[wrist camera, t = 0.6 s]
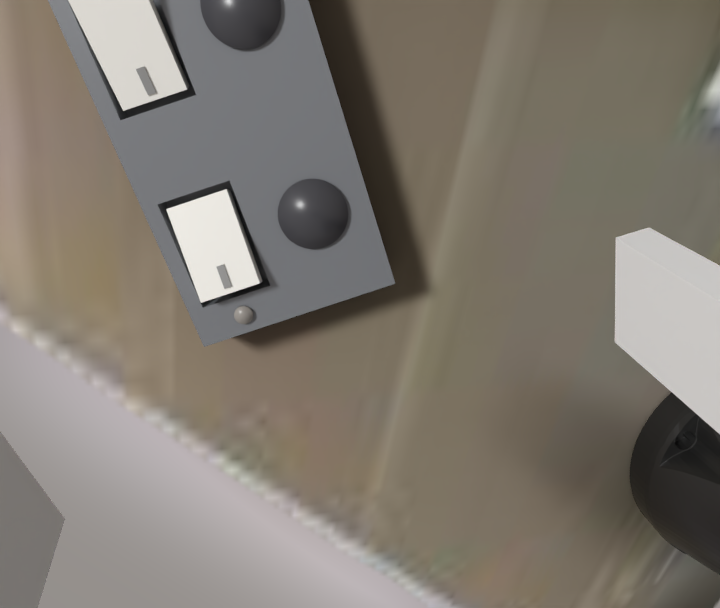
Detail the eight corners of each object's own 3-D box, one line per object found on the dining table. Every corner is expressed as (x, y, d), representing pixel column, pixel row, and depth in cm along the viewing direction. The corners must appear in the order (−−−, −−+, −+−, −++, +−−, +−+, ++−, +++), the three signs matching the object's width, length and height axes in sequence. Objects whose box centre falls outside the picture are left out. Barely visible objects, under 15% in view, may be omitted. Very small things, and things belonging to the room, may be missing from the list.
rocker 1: (189, 85, 28) (187, 89, 27) (127, 106, 28) (123, 111, 27) (140, -29, 25) (136, -29, 24) (72, -6, 25) (65, -5, 24)
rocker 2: (262, 281, 30) (259, 283, 29) (205, 300, 30) (200, 303, 29) (230, 190, 29) (226, 188, 28) (171, 209, 30) (165, 209, 28)
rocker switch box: (387, 269, 34) (396, 284, 31) (212, 326, 34) (203, 348, 31) (268, -116, 27) (264, -144, 24) (50, -42, 27) (19, -60, 24)
